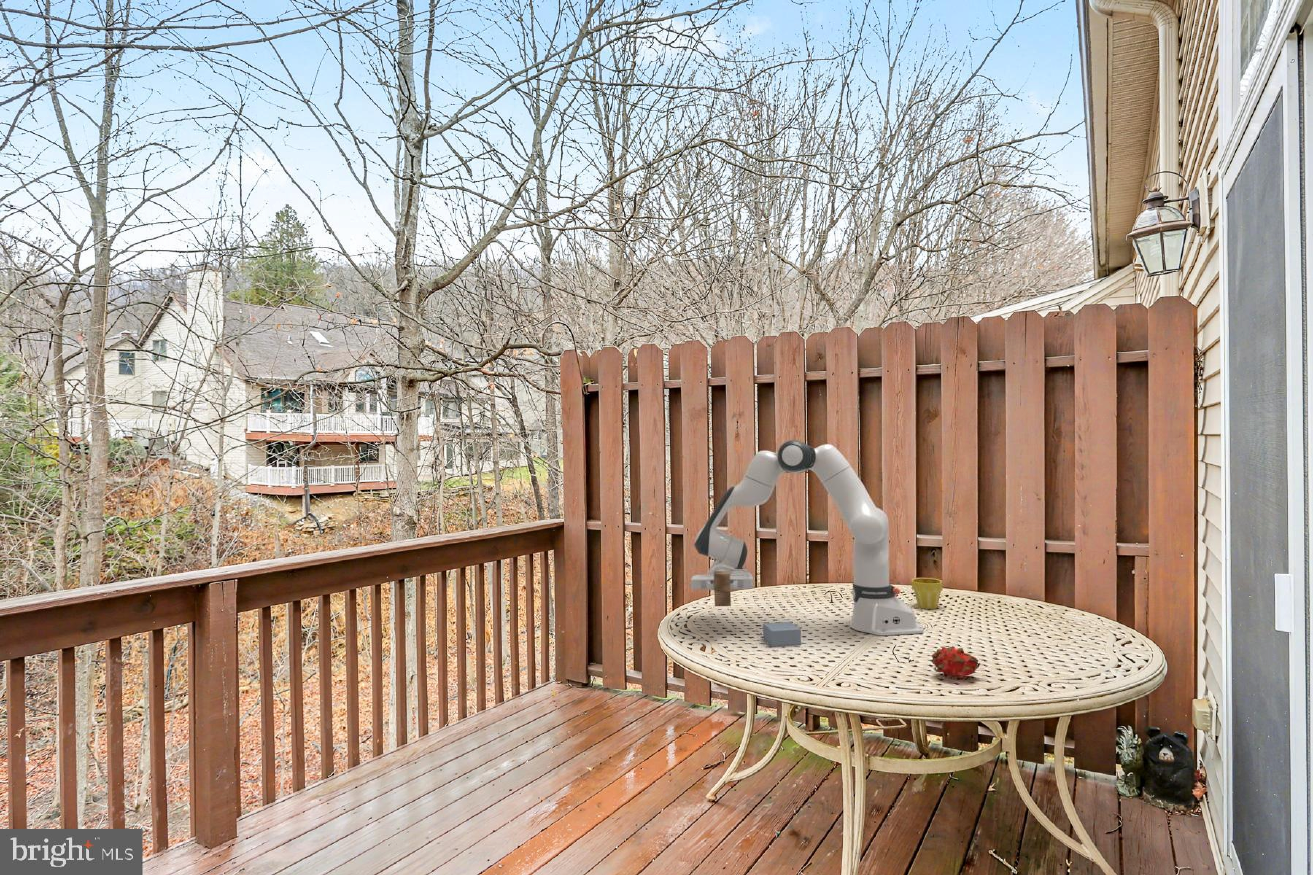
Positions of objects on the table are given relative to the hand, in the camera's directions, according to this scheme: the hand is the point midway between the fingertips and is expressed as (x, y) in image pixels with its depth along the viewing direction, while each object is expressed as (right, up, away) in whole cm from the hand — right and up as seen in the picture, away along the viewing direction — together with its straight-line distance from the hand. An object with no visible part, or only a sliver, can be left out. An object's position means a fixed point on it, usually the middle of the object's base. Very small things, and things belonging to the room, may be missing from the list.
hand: (722, 587), depth 201 cm
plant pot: (+78, -15, +33) cm, 86 cm away
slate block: (+18, -16, -5) cm, 24 cm away
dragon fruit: (+56, -14, -38) cm, 69 cm away
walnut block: (0, -6, +1) cm, 6 cm away
